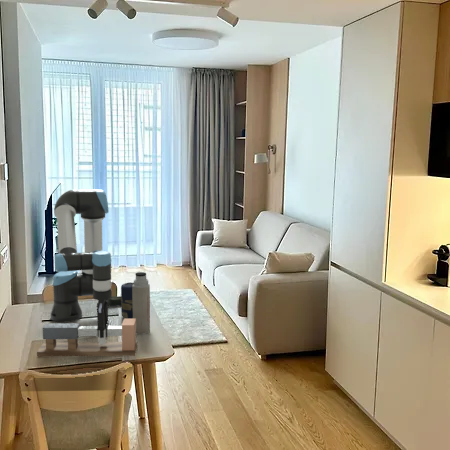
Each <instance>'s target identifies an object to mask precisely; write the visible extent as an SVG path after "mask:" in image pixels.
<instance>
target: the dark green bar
mask: <svg viewBox="0 0 450 450" xmlns="http://www.w3.org/2000/svg"><path fill="white" fill-rule="evenodd" d="M116 306H117V307H119V306H120V307H121V295H120V296H118V295H117V296H112V297H111V298H110V299H108V307H116Z"/></svg>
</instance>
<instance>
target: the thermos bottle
mask: <svg viewBox="0 0 450 450" xmlns="http://www.w3.org/2000/svg"><path fill="white" fill-rule="evenodd" d="M134 275H135V279H133V283H134V284H133V285H132V300H133V319H135V318H136V335H137V334H138V335H143V334H144V335H145V334H148V333H150V331H151V297H150V296H151V294H150V293H151V286H150V283H149V279H148V278H147V273H146V272H144V271H143V272H142V271H141V272H140V271H139V272H135V273H134Z"/></svg>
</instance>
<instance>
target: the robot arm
mask: <svg viewBox="0 0 450 450" xmlns="http://www.w3.org/2000/svg"><path fill="white" fill-rule="evenodd" d="M108 203H109V202H108V198H107V193H106V191H105V190H103V189H96V188H94V189H93V188H91V189H89V188H88V189H87V188H86V189H70V190H67V191H65V192H64V193H62V194H61V195H60V196H59V197H58V199H57V200H56V202H55V204H54V207H53V212H54V213H53V214H54V217H55V218H56V223H57V225H56V226H57V242H58V244H57V246H58V253H56V254H54V270H55V271H56V273H55V274H54V275H53V277H52V286H53V288H52V289H53V290H52V291H53V305H52V308H51V311H50V320H51V321H53V322H56V323H57V322H58V323H69V322H70V323H71V322H74V321H75V322H76V321H77V320H80V319H81V318H82V317H83V311H82V308H81V306H80V302H79V297H87V296H92V297H93V299H94V300H97V301H98V302H97V303H96V315H97V316H96V317H97V318H96V319H97V326H98V329H97V330H99V337H98V342H99V345H106V342H107V341H108V337H109V336H108V337H106V329H105V325H109V326H110V322H109V306H108V299H110V298H111V297H113V295H112V292H113V291H112V290H113V289H112V284H113V283H114V281H113V280H112V254H111V252H109V251H106V250H103V221H104V219H105V218H106V214H108V213H109V204H108ZM76 215H80V219H82V220H83V233H84V236H83V237H84V242H83V243H84V252H78V249H77V236H76V235H77V234H76V224H75V223H76V222H75V217H76ZM78 271H81V272H78Z"/></svg>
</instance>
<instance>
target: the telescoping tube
mask: <svg viewBox="0 0 450 450" xmlns="http://www.w3.org/2000/svg"><path fill="white" fill-rule="evenodd" d="M97 329H98V325H80V326H79V327H78V328H77V331H78V336H79V337H97V338H99V330H97ZM105 329H106V337H122V325H110V324H109V325H105Z"/></svg>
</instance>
